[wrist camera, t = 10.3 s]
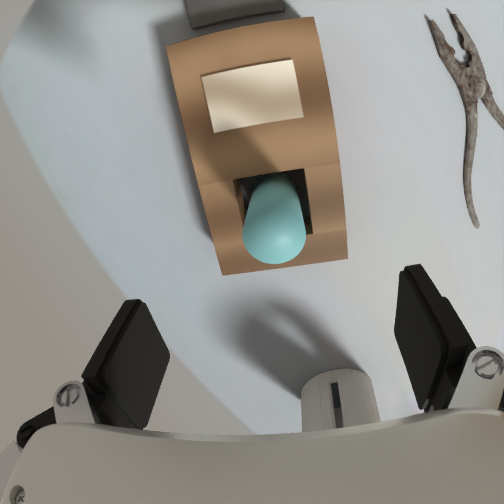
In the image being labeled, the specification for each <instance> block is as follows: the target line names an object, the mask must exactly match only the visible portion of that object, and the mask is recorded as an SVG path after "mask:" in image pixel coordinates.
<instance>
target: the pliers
mask: <svg viewBox="0 0 504 504" xmlns="http://www.w3.org/2000/svg"><path fill="white" fill-rule="evenodd" d="M450 16H451V19H452V21H453V24H454V27H455V30H456V31H457V32H458V33H459V36H460V37H461V48H462V49H463V50H465V51H467V53H468V55H469V61H468V62H467V63H466V65H467V67H466V68H465V66H464V65H459V64H458V63H457V62H455V58H454V54H455V50H454V49H453V48H452V47H451V46H449V45H448V44H447V43H446V40H445V37H444V34H443V33H442V31H441V30H440V29H439V27H438V26H437V24H436V23H435V22H434V20H430V21H428V23H429V25H430V28H431V31H432V34H433V37H434V40H435V43H436V46H437V50H438V53H439V56H440V59H441V60H442V62H443V63H444V65H445V66H446V68H447V70H448V71H449V73H450V75H451V76H452V78H453V80H454V81H455V83H456V85H457V87H458V88H459V90H460V93H461V96H462V100H463V103H464V106H465V111H466V117H467V138H466V150H465V160H464V175H463V176H464V191H465V198H466V203H467V208H468V211H469V215H470V217H471V220H472V222H473V224H474V226H475V227H476V228H478V227H479V222H478V219H477V216H476V213H475V210H474V206H473V200H472V192H471V172H472V164H473V157H474V150H475V143H476V137H477V103H478V99H481V100H482V102H483V103H484V105H485V106H486V108H487V109H488V111H489V112H490V113H491V115H492V116H493V118H494V119H495V120H496V121H497V122H498V124H499V125H500V126H501V127H502V128H503V129H504V115H503V114H502V112H501V111H500V109H499V108H498V106H497V105H496V103H495V101H494V99H493V96H492V94H493V93H492V91H491V89H490V86H489V84H488V82H487V80H486V75H485V71H484V68H483V65H482V62H481V59H480V57H479V54H478V51H477V49H476V46H475V44H474V43H473V41H472V39H471V38H470V36H469V34H468V33H467V31H466V30H465V28H464V27H463V25H462V23H461V22H460V20H459V19H458V17H457V16H456V14H451V15H450Z"/></svg>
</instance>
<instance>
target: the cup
mask: <svg viewBox="0 0 504 504" xmlns="http://www.w3.org/2000/svg"><path fill="white" fill-rule="evenodd" d="M336 382H338V387H339V394H340V401H341V407H335V408H334V406H333V397H332V389H331V384H332V383H336ZM301 408H302V432H311V431H321V430H330V429H338V428H345V427H352V426H358V425H365V424H371V423H377V422H380V417H379V412H378V408H377V403H376V399H375V395H374V390H373V386H372V382H371V379H370V378H369V376H368V375H367V374H365V373H364V372H362V371H359V370H355V369H344V368H342V369H335V370H330V371H327V372H323V373H321V374H319V375H317V376H315V377H313V378H312V379H310V380H309V381H308V382H307V383H306V384H305V385H304V386H303V388H302V391H301Z"/></svg>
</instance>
